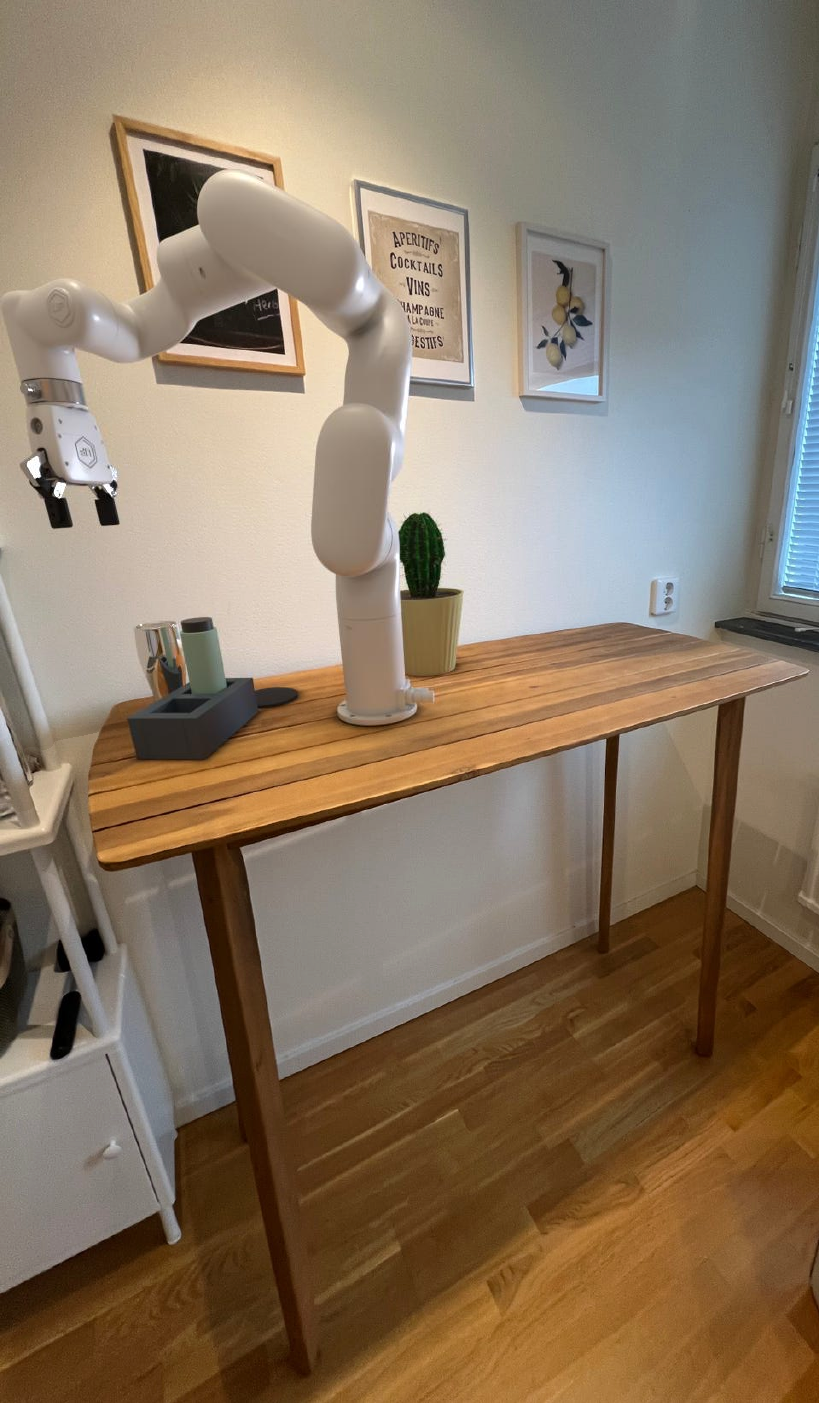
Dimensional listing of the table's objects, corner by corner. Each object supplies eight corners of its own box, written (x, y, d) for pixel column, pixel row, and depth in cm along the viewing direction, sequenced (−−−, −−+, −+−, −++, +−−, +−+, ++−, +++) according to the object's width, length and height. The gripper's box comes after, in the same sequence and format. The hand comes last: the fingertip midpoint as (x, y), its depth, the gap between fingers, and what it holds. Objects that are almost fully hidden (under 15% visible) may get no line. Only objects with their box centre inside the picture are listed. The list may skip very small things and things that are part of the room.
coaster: (305, 689, 101) (305, 686, 101) (286, 708, 91) (285, 705, 91) (254, 689, 102) (253, 687, 102) (229, 708, 93) (229, 705, 93)
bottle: (238, 717, 88) (221, 615, 83) (223, 730, 83) (204, 622, 78) (208, 717, 89) (189, 617, 84) (192, 730, 84) (170, 623, 79)
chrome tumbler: (180, 720, 89) (161, 629, 84) (142, 719, 90) (121, 629, 85) (204, 705, 95) (187, 620, 90) (168, 705, 96) (150, 620, 91)
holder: (258, 712, 90) (253, 677, 88) (204, 759, 73) (196, 718, 71) (202, 712, 92) (195, 678, 90) (136, 759, 75) (126, 718, 73)
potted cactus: (459, 655, 117) (455, 506, 107) (471, 675, 103) (468, 505, 93) (387, 660, 116) (376, 511, 107) (389, 681, 102) (376, 511, 92)
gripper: (26, 384, 69) (64, 527, 74) (121, 406, 85) (146, 523, 90) (-22, 391, 70) (18, 531, 76) (79, 411, 86) (106, 525, 92)
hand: (87, 526), depth 83 cm, fingers open, 9 cm apart
